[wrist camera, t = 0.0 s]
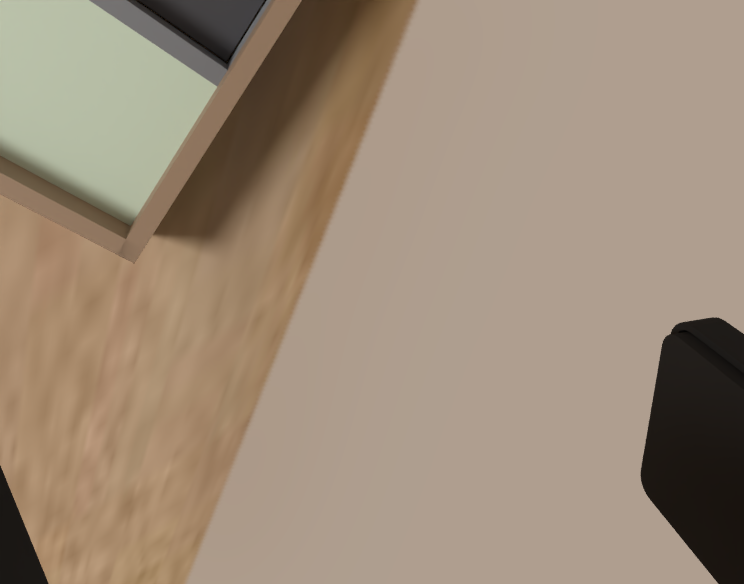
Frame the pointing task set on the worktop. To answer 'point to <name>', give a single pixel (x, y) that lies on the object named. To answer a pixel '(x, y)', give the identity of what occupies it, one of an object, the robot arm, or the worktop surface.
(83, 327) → the worktop surface
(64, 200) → the trap deck
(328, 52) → the worktop surface
